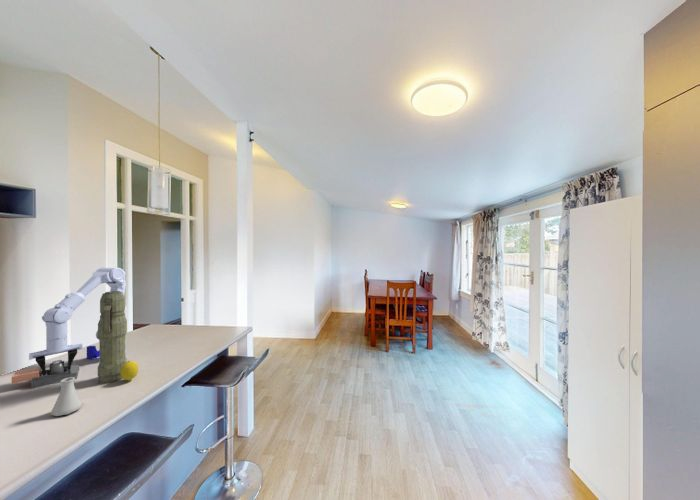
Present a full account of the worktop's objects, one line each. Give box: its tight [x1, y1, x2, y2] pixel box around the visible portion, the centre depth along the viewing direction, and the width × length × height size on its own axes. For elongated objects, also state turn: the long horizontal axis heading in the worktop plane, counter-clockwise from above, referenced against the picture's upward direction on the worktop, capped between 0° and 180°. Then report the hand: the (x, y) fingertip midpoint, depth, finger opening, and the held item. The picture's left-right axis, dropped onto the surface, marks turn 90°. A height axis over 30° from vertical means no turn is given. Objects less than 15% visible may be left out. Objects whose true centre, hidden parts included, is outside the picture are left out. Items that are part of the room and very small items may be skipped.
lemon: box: [120, 360, 139, 382], centre depth 107 cm, size 6×6×8 cm
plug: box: [49, 359, 65, 375], centre depth 109 cm, size 4×4×7 cm
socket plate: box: [30, 364, 80, 389], centre depth 109 cm, size 12×10×3 cm
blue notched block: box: [86, 345, 100, 360], centre depth 134 cm, size 12×4×6 cm, turn 174°
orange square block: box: [11, 366, 42, 385], centre depth 104 cm, size 6×6×2 cm
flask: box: [49, 377, 85, 417], centre depth 88 cm, size 7×7×10 cm
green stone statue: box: [97, 291, 128, 385], centre depth 109 cm, size 9×12×35 cm
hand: (57, 371), depth 109 cm, fingers open, 6 cm apart
